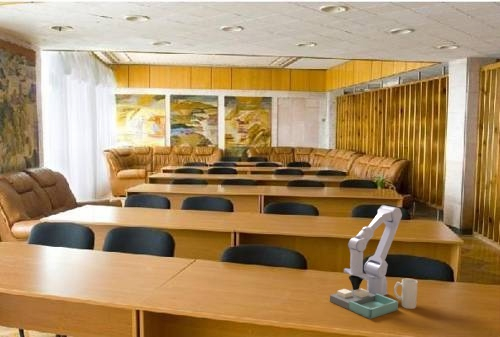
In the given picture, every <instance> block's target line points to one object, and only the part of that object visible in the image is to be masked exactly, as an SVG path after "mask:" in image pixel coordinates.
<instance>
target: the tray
mask: <svg viewBox="0 0 500 337" xmlns="http://www.w3.org/2000/svg"><path fill="white" fill-rule="evenodd" d="M398 308H399V301H398V300H395V299H393V298H390V297H387V296H386V295H383V296H382V295H380V294H377V293H376V294H375V301H372V302H368V303H365V304H361V305H360V304H358V303H355V302H353V301H349V310H348V311H351V312H353V313H356V314H358V315H360V316H362V317H364V318H367V319H369V320H372V319H374V318H375V319H376V318H378V317H381V316H384V315H387V314H390V313H393V312H396V311H398V310H399V309H398Z"/></svg>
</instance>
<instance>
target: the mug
mask: <svg viewBox="0 0 500 337" xmlns="http://www.w3.org/2000/svg"><path fill="white" fill-rule="evenodd" d="M399 286H401V295H399V294H398V292H397V288H398V287H399ZM393 291H394V292H393V293H394V295H395V297H396V299H397V300H400V301H401V307H403V308H405V309H408V310H412V309H416V308H417V297H418V296H417V295H418V280H417V279H414V278H407V277H406V278H402V279H401V282H400V281H396V283H395V285H394V287H393Z"/></svg>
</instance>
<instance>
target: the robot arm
mask: <svg viewBox="0 0 500 337" xmlns="http://www.w3.org/2000/svg"><path fill="white" fill-rule="evenodd" d="M402 216H403V213H402V210H401V208H399V207H395V206H390V205H389V206H388V205H385V204H382V205H381V206H380V207H379V208H378V209H377V214H376V215H375V217H374V218H373V219H372V221H371V222H370V223H369V225H368V226H364V227H362V229H361V230H360V231H359V232H358V233H357V234H356V236H355V237H354V236H353V237H352V238H350V239H349V241H348V243H347V247H348V248H349V253H350V259H349V260H350V262H349V266H350V268H347V267H345V268H343V273H344V274H348V275H349V276H348V280H350V284H351V287H352V289H353V291H354V290H357V289H360V287H361V285H362V282H363V280H364V281H366V283H367V284H366V290H367V291H369V293H371V294H374V295H375V294H376V293H377V294H380V295H382V296H386V295H389V292H388V280H387V277H386V274H387V270H388V266H389V264H388V263H387V261H386V258H387V255H388V253H389V252H390V251H389V250H390V248H391V245H392V243H393V241H394V238H395V236H396V232H397V230H398V227H399V224H400V222H401V220H402ZM383 223H384V225H385V227H384V230H383V233H382V235H381V238H380V240H379V242H378V245H377V247H376V249H375V252H374V254H373V255H371V256H370V257H368V259H367V261H366V262H365V263H363V262H364V251H365V250H366V248H367V245H368V243H369V241H370V240H371V239H372V238H373V237H374V234H375V230H377V229H378V228H379V226H381V225H382V224H383ZM363 264H364V265H363ZM363 270H364V271H363Z"/></svg>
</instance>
